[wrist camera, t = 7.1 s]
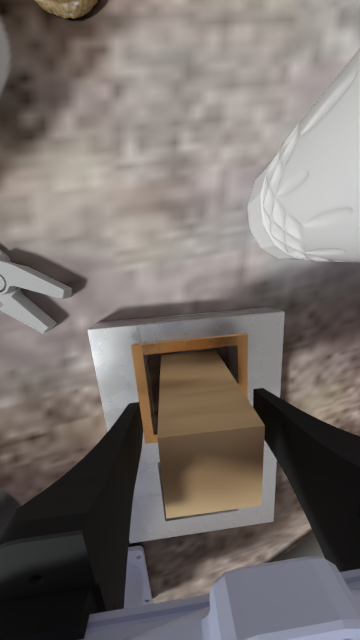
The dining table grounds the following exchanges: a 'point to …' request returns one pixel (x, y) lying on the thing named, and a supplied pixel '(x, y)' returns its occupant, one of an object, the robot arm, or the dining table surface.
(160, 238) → the dining table surface
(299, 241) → the white cup
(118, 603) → the robot arm
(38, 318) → the pliers
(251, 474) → the peg
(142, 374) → the socket board
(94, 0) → the sprinkles bottle
